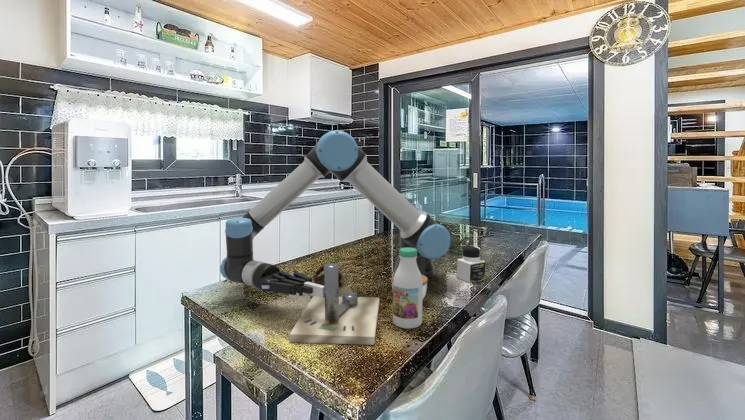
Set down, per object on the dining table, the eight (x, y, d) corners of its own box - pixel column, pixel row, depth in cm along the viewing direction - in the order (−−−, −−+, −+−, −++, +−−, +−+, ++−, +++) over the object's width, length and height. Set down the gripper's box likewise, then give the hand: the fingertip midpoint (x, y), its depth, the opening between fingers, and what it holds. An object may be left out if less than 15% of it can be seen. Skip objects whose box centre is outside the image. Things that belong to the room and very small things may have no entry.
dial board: (379, 304, 106) (379, 296, 106) (374, 344, 83) (374, 335, 82) (313, 302, 108) (313, 295, 107) (289, 342, 84) (289, 333, 84)
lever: (346, 299, 103) (345, 252, 101) (360, 301, 102) (360, 253, 100) (318, 322, 89) (317, 267, 87) (334, 324, 87) (333, 269, 85)
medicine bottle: (470, 283, 124) (471, 250, 122) (456, 277, 130) (457, 245, 129) (485, 280, 127) (486, 247, 126) (471, 274, 134) (472, 243, 132)
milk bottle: (401, 314, 99) (402, 244, 96) (427, 321, 95) (428, 248, 92) (387, 324, 93) (387, 250, 90) (413, 332, 89) (414, 254, 86)
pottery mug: (344, 291, 118) (332, 272, 115) (320, 301, 120) (307, 283, 117) (348, 271, 129) (337, 254, 127) (326, 281, 131) (314, 264, 129)
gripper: (279, 281, 109) (340, 298, 96) (243, 294, 98) (307, 315, 85) (278, 258, 108) (340, 271, 95) (242, 268, 97) (306, 285, 84)
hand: (324, 292), depth 90 cm, fingers closed
